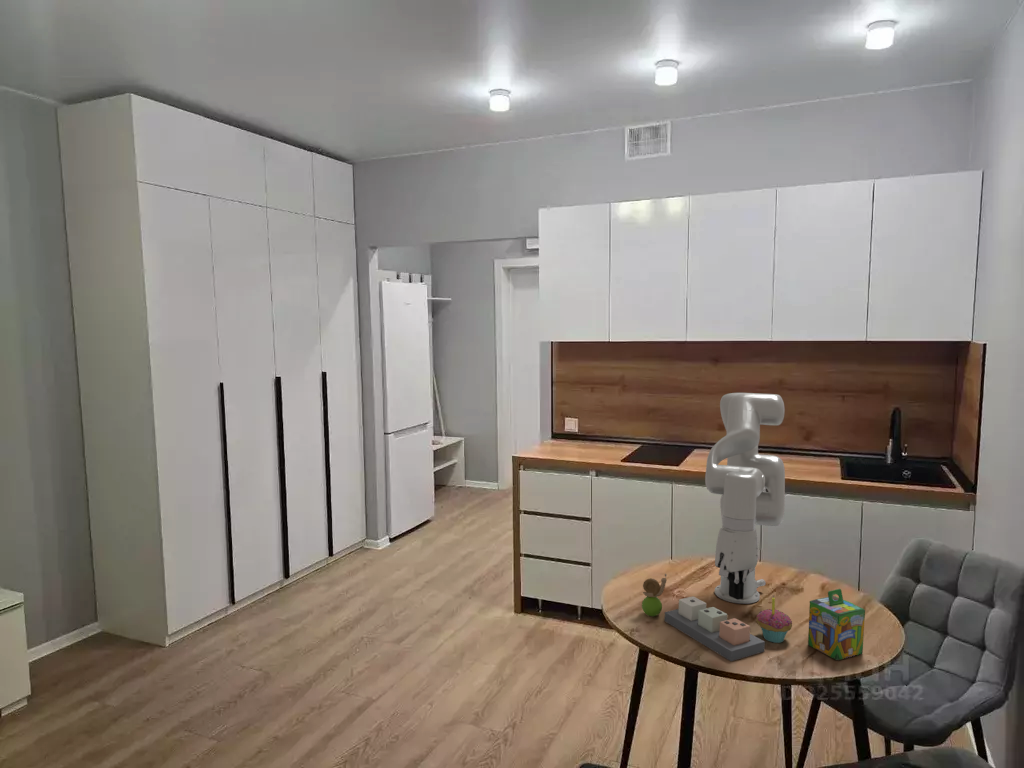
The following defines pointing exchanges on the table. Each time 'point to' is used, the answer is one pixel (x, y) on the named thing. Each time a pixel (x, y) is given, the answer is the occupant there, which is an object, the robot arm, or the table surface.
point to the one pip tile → (691, 607)
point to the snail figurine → (653, 596)
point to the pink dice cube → (734, 631)
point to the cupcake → (774, 624)
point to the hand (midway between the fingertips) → (735, 597)
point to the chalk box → (836, 626)
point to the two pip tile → (711, 619)
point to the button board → (714, 638)
